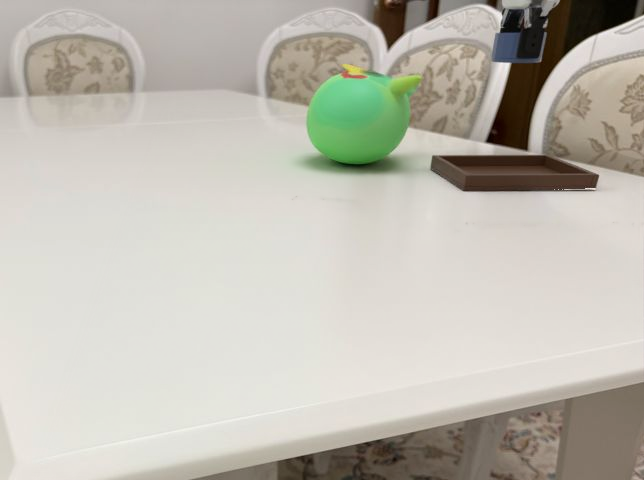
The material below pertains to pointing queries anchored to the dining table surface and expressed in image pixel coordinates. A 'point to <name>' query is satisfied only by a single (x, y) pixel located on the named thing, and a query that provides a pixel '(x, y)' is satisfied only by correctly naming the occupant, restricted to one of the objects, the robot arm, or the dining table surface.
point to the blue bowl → (511, 48)
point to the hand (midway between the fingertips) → (516, 55)
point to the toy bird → (360, 115)
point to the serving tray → (512, 172)
